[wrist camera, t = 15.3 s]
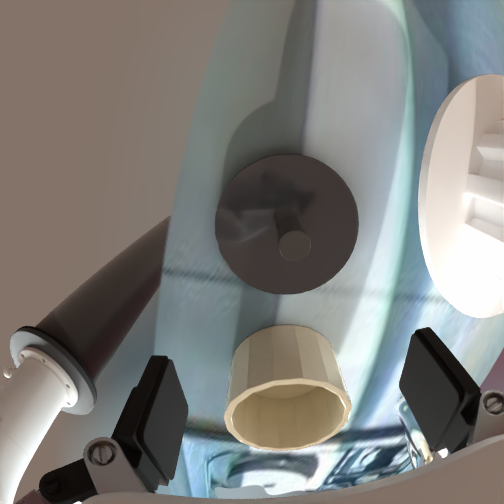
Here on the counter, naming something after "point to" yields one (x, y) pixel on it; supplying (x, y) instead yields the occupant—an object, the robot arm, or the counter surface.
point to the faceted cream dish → (285, 390)
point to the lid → (286, 224)
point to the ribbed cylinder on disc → (466, 197)
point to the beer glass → (415, 437)
